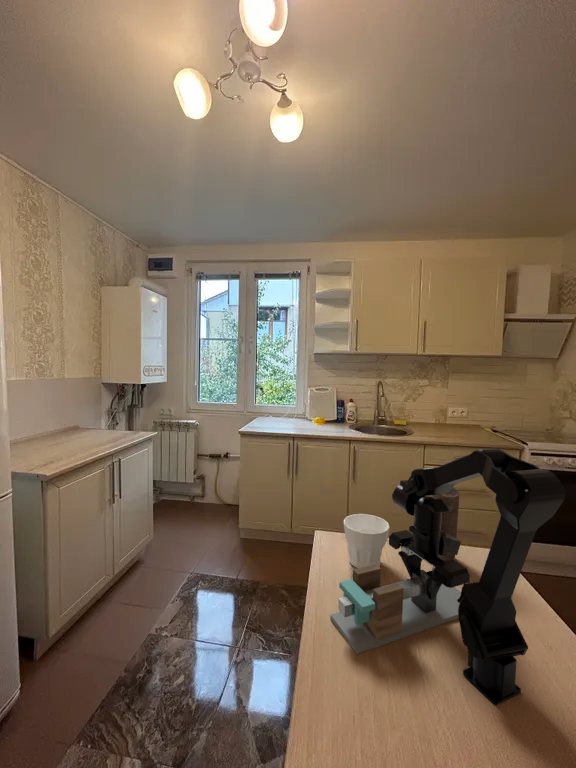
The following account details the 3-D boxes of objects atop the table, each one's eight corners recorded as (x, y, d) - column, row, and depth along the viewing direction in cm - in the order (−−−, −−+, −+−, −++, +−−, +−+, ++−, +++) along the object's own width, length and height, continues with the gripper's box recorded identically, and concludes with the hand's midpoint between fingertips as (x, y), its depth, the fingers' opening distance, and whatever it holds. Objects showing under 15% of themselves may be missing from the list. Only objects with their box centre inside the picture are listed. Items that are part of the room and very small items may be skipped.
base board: (480, 610, 80) (481, 606, 80) (356, 654, 68) (356, 649, 68) (445, 584, 90) (445, 580, 90) (330, 619, 77) (330, 614, 77)
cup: (338, 569, 95) (339, 529, 95) (346, 546, 107) (347, 510, 106) (386, 579, 91) (388, 537, 91) (389, 554, 103) (390, 517, 103)
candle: (457, 555, 104) (460, 487, 102) (454, 567, 97) (458, 495, 96) (429, 548, 107) (432, 482, 106) (424, 559, 101) (428, 490, 100)
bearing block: (401, 636, 72) (403, 587, 72) (376, 644, 70) (378, 594, 69) (374, 607, 81) (375, 564, 80) (351, 614, 78) (353, 569, 78)
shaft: (436, 610, 79) (437, 580, 78) (346, 639, 70) (347, 606, 70) (421, 597, 83) (422, 569, 83) (335, 624, 74) (336, 592, 74)
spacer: (374, 627, 70) (375, 603, 70) (361, 631, 69) (362, 607, 68) (350, 600, 78) (351, 578, 77) (338, 603, 76) (339, 582, 76)
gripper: (491, 537, 74) (486, 610, 75) (424, 503, 91) (421, 563, 92) (450, 547, 69) (446, 624, 70) (388, 510, 87) (386, 572, 88)
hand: (423, 592), depth 80 cm, fingers closed on shaft, 4 cm apart
